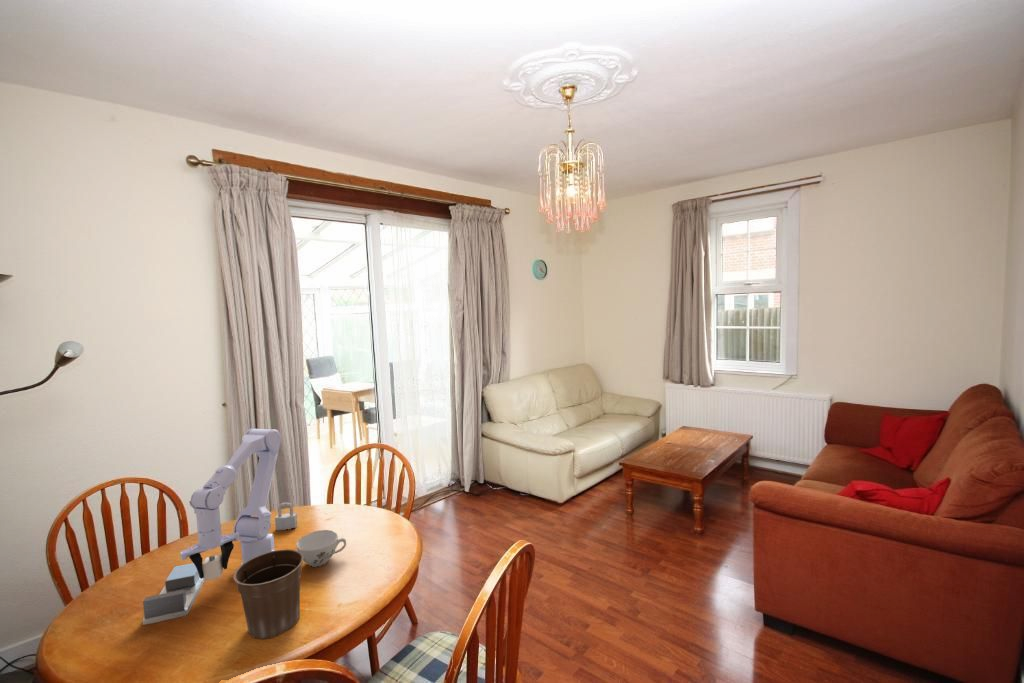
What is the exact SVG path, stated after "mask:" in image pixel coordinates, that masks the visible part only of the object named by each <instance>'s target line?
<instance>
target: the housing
mask: <svg viewBox="0 0 1024 683" xmlns="http://www.w3.org/2000/svg"><path fill="white" fill-rule="evenodd" d="M202 567H203V574H204V581H205V582H206V581H212V580H215V579H220V578H221V576H222V574H223V572H224V568H223V565H222V554H219V555H214V554H212V555H209V556H208V557H205V559H204V561H203V562H202Z"/></svg>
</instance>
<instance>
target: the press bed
mask: <svg viewBox="0 0 1024 683" xmlns="http://www.w3.org/2000/svg"><path fill="white" fill-rule="evenodd" d="M205 582H206V581H204V578H202V579H201V578H200V577H199V578H198V580H197V582H196V583H195V585H191V586H186V587H181V588H177V589H172V590H167V591H166V586H165V585H164V586H163V588H162V589H161V591H159V594H156V595H151V596H145V598H144V599H143V600H142V606H143V614H144V616H143V619H142V626H145V625H151V624H154V623H155V624H156V623H159V622H164V621H167V620H174V619H177V618H182V617H185V616H186V615H187V616H188V614H189V613H190V611H191V608H192V607H193V605H194V604H195V601H196V599H197V597H198V596H199V593H200V592H201V589H202V587H203V586H202V585H204V584H205ZM203 583H204V584H203Z"/></svg>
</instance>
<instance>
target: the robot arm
mask: <svg viewBox="0 0 1024 683" xmlns="http://www.w3.org/2000/svg"><path fill="white" fill-rule="evenodd" d="M282 438H283V436H282V435H281V433H280V431H279V430H278V429H276V428H273V429H269V428H268V429H267V428H266V429H265V428H255V427H253V428H249V429H248V430H247V431H246V432H245V434H243V436H242V437H241V443H240V445H239V447H238V448H237V449H236V451H235V452H234V454H233V455H232V456H231V458H230V459H229V461H228V462H227V463H226V464H225V465H221V466H219V467H218V468H217V469H215V472H214V473H213V475H212V476H211V477H210V478H209V479H208V480H207V482H206V483H205V484H204V485H203V487H200V488H197V489H196V490H195V491H194V492H193V493H192V494H191V497H190V500H189V502H188V503H189V506H190V507H191V508H192V509H193V510H194V511H193V513H194V514H195V517H196V529H197V536H198V537H197V538H198V543H197V544H194V545H192V546H190V547H188V548H186V549H184V550H181V551H180V552H179V554H180V555H179V556H180V560H181V561H184V560H187V559H188V558H189V559H190V560H191V563H194V565H195V566H196V568H197V571H198V574H199V577H200V578H201V579H202V578H204V574H203V568H202V564H203V557H202V553H205V552H207V551H210V550H213V549H216V548H218V547H220V553H221V555H222V565H223V570H227V569H228V564H229V561H230V560H229V559H230V557H231V554H232V551H234V550H233V549H234V546H235V544H234V543H233V542H237V541H238V542H239V541H240V549H241V550H240V551H241V564H240V566H241V565H242V564H243V563H245V562H246V561H248V560H250V559H252V558H254V557H256V556H258V555H261V554H264V553H267V552H271V551H275V550H276V549H275V539H274V537H275V536H274V533H269V532H270V531H271V528H272V524H271V517H272V513H271V512H270V511H269V509H268V508H267V502H268V498H269V494H270V489H271V485H272V481H273V477H274V473H275V469H276V464H277V459H278V456H279V451H280V447H281V442H282ZM252 454H256V455H257V457H258V458H259V459H258V462H257V466H256V471H255V474H254V479H253V483H252V486H251V490H250V493H249V494H250V495H249V498H248V502H247V506H246V507H245V508H243V509H242V510H241V511H240V512H239V514H238V516H237V519H235V520H236V521H235V522H234V525H233V533H229V534H225V535H223V534H222V533H223V532H222V523H221V522H222V521H221V511H220V509H221V508H220V505H222V504H223V502H224V499H225V498H224V497H225V495H226V493H227V490H228V488H229V487H230V486H231V485H232V483H234V481H235V479H237V477H238V473H237V472H238V470H239V469H240V468H241V466H242V465H244V463H245V462H246V461H247V460H248V459H249V458H250V456H252Z"/></svg>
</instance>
